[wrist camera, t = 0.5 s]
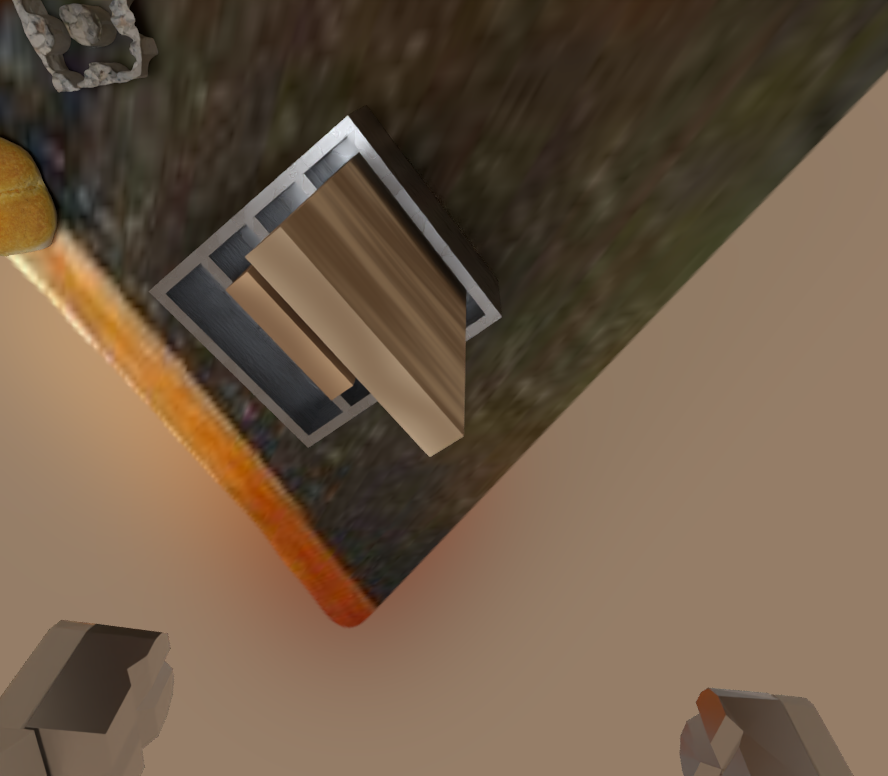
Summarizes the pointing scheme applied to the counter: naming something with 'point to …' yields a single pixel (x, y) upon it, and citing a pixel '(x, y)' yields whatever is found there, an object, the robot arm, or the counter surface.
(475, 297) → the rack
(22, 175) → the bread roll
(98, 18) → the egg carton
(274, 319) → the oak offcut
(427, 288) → the birch sheet
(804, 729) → the robot arm
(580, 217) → the counter surface
